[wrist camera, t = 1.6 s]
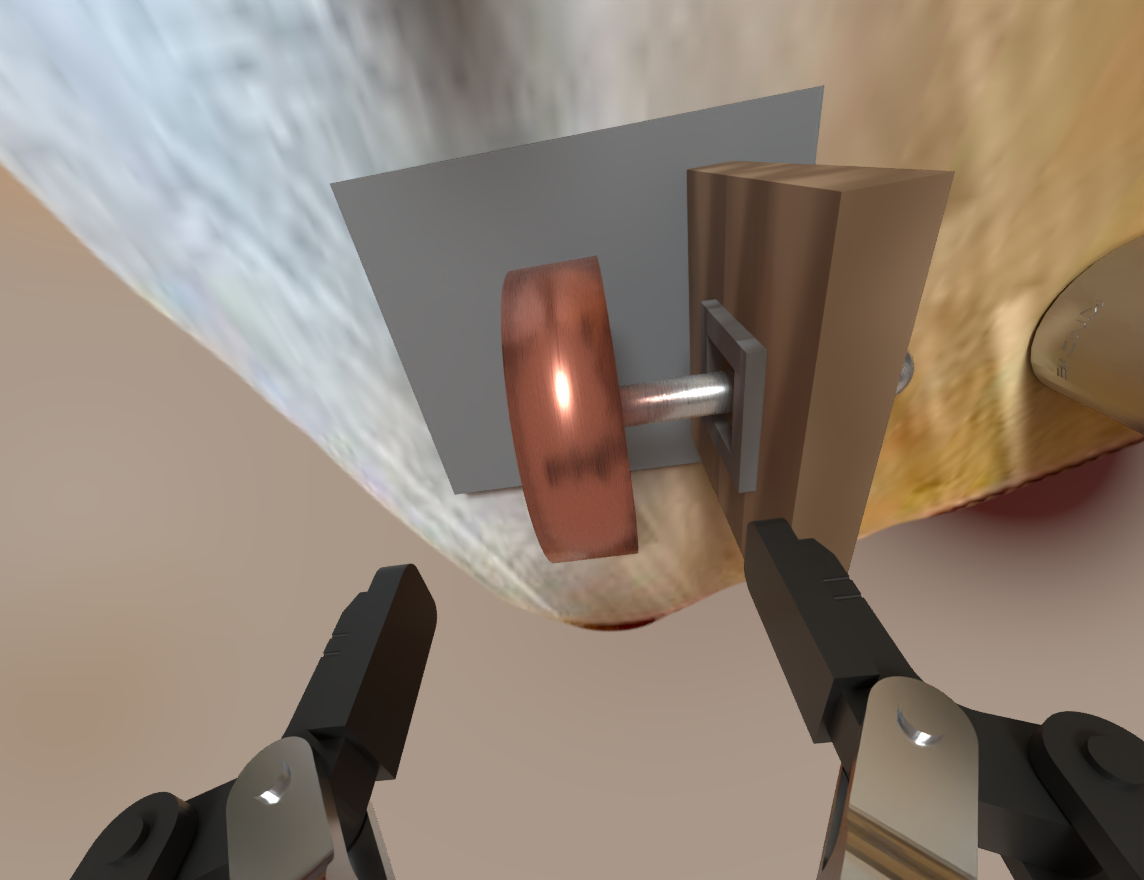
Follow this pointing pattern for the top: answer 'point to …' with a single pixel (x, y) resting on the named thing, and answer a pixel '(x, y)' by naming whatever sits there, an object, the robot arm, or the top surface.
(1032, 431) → the top surface
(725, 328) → the brown wooden panel
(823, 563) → the robot arm
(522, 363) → the copper disc with rod
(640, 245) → the base board
